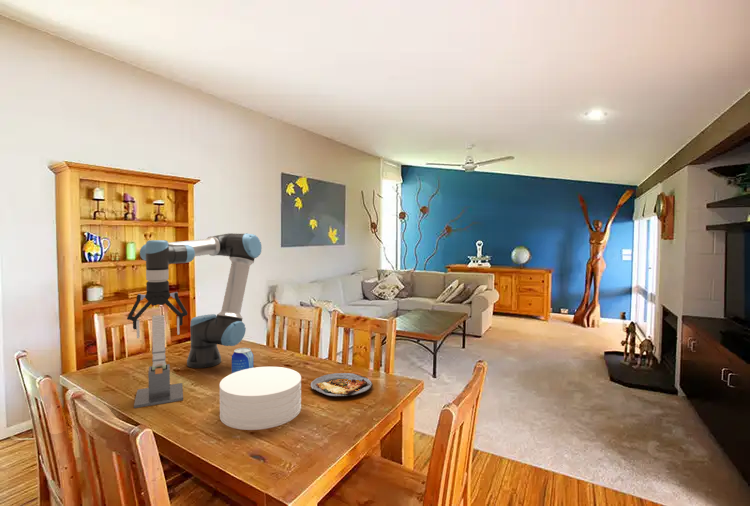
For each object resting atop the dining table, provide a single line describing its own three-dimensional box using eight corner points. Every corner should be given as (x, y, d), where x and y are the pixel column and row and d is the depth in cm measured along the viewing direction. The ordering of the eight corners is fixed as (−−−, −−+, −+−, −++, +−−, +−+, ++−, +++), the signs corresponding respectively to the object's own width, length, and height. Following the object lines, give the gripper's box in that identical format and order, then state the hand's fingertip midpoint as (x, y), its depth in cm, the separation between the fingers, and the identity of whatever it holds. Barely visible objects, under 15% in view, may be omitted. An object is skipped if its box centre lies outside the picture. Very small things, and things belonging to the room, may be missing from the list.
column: (166, 370, 158) (165, 314, 156) (166, 373, 154) (164, 317, 152) (152, 371, 156) (151, 315, 154) (152, 375, 151) (151, 318, 150)
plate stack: (258, 439, 125) (258, 403, 124) (202, 416, 139) (202, 383, 139) (316, 406, 148) (317, 375, 148) (264, 389, 163) (263, 361, 163)
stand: (182, 385, 166) (181, 356, 165) (183, 400, 152) (182, 368, 151) (137, 391, 159) (136, 361, 158) (133, 408, 144) (133, 375, 144)
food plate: (383, 387, 166) (383, 379, 166) (342, 406, 148) (342, 397, 148) (341, 374, 182) (341, 366, 182) (300, 389, 165) (300, 381, 165)
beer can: (257, 386, 166) (257, 348, 165) (244, 394, 158) (244, 354, 157) (240, 383, 168) (240, 346, 168) (227, 391, 161) (227, 351, 160)
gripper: (193, 278, 161) (193, 330, 163) (120, 281, 150) (121, 336, 151) (193, 280, 155) (194, 334, 156) (117, 283, 144) (119, 341, 145)
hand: (158, 335), depth 154 cm, fingers open, 13 cm apart
